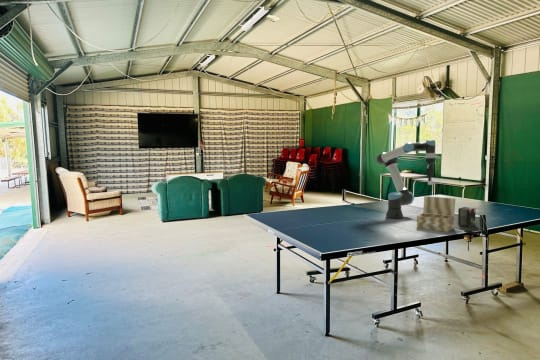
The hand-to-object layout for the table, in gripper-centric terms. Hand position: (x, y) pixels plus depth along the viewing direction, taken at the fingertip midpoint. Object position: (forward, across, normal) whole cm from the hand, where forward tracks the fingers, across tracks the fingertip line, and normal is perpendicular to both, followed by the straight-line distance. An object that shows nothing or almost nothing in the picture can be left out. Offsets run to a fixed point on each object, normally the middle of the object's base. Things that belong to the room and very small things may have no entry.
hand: (429, 184), depth 309 cm
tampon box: (+33, 0, -30) cm, 44 cm away
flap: (+15, -16, -13) cm, 26 cm away
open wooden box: (+32, -24, -13) cm, 42 cm away
